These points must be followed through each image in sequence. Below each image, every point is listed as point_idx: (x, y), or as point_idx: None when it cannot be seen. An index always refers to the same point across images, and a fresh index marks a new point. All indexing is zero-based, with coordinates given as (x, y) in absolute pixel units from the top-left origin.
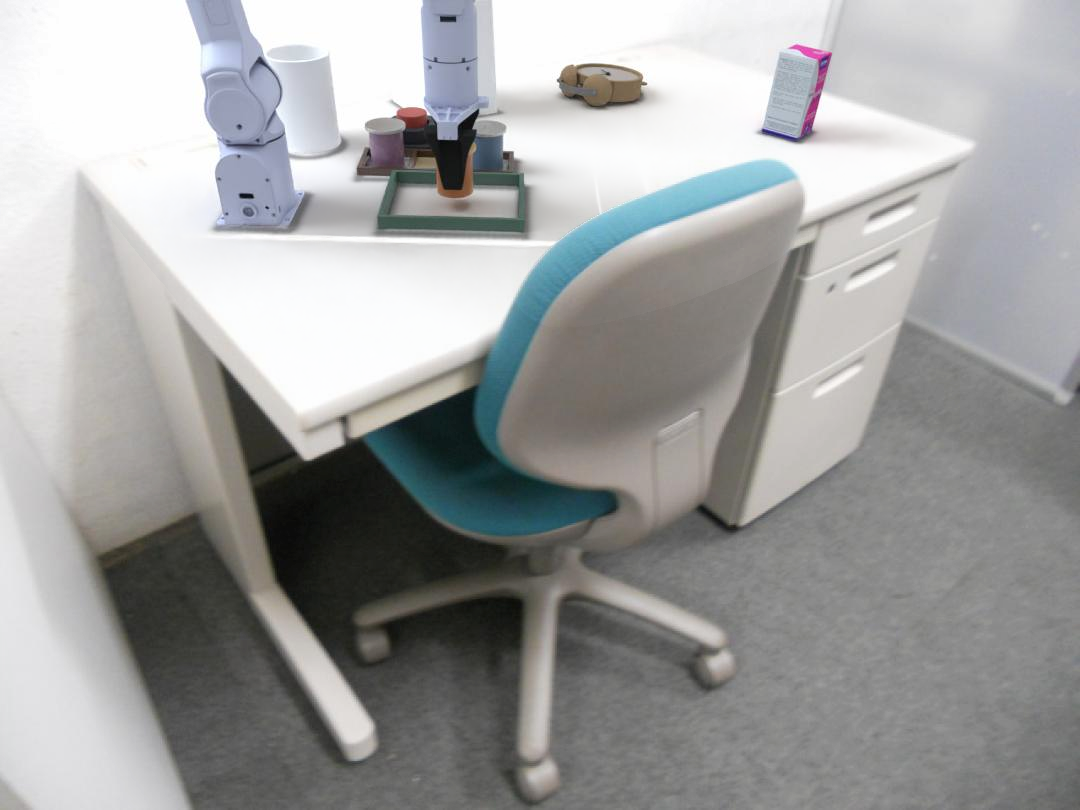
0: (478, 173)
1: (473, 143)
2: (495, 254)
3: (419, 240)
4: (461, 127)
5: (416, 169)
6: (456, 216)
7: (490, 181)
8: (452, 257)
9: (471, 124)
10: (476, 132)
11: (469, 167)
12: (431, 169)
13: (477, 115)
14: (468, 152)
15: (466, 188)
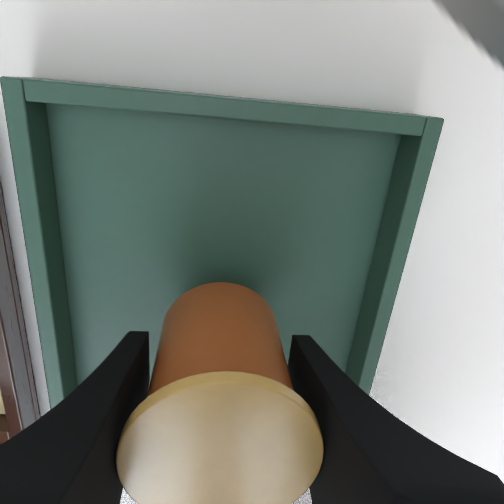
0: (44, 261)
1: (195, 394)
2: (494, 202)
3: (381, 366)
4: (97, 491)
5: (20, 421)
6: (378, 319)
7: (52, 210)
8: (478, 300)
9: (87, 468)
10: (465, 500)
11: (267, 350)
12: (14, 388)
13: (60, 500)
14: (419, 433)
15: (269, 315)
